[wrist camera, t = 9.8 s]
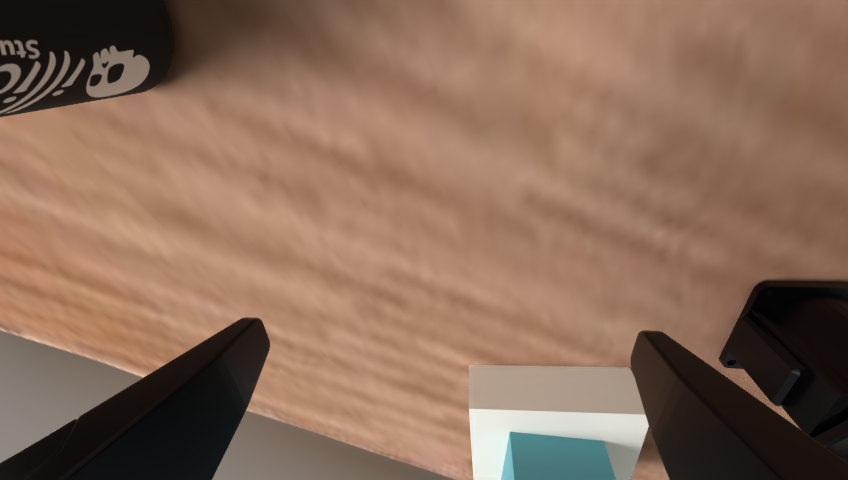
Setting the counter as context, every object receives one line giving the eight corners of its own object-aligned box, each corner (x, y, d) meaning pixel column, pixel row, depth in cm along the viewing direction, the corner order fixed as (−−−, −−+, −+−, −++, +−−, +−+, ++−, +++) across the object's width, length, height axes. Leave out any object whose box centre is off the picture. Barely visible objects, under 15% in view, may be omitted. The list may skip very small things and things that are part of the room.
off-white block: (627, 362, 25) (652, 414, 21) (604, 452, 30) (621, 506, 27) (469, 360, 26) (468, 408, 23) (474, 446, 32) (474, 496, 28)
